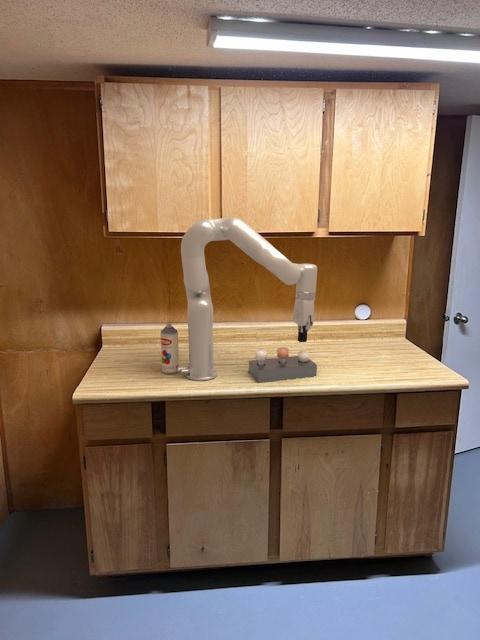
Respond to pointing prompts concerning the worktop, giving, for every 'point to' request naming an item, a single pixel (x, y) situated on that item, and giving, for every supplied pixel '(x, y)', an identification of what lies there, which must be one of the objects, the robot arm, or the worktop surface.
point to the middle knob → (282, 354)
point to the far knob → (303, 356)
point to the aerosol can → (169, 350)
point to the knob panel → (282, 369)
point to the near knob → (261, 356)
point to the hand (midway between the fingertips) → (302, 341)
